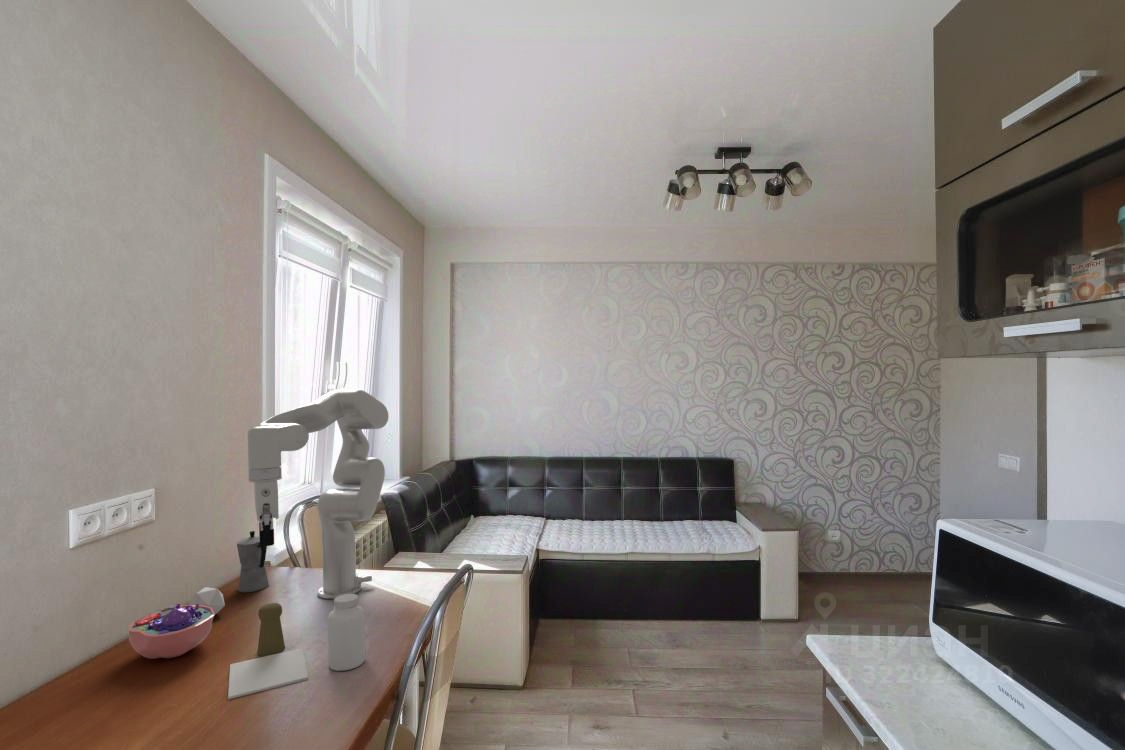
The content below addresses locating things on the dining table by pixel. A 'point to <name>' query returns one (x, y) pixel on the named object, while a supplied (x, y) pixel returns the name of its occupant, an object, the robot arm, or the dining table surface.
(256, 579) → the coffeepot
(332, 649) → the pill bottle
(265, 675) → the mat
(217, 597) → the die
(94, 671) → the dining table surface
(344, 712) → the dining table surface
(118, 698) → the dining table surface
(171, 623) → the cell model
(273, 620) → the cork
